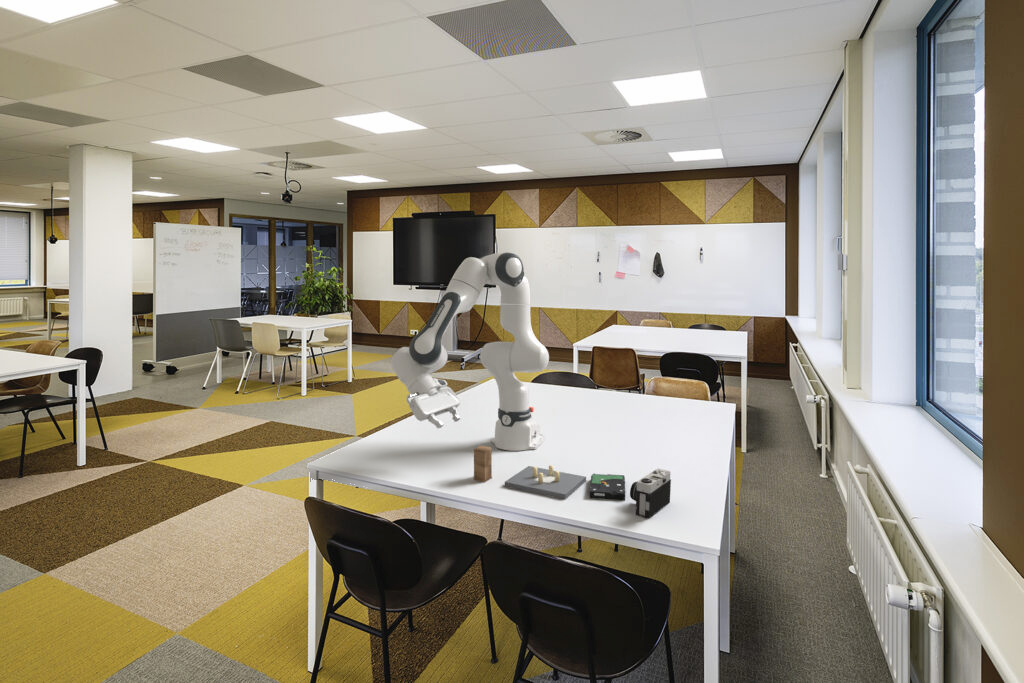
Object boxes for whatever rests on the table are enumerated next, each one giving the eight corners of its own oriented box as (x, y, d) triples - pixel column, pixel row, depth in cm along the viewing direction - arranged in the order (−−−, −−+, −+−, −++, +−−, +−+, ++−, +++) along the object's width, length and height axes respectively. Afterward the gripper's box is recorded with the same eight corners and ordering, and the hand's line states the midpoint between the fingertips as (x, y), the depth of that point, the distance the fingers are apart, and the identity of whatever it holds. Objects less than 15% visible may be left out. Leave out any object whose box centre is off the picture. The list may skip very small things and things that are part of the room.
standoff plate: (528, 470, 183) (528, 457, 182) (586, 481, 173) (586, 467, 173) (504, 486, 169) (504, 472, 168) (565, 499, 159) (565, 484, 159)
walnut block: (480, 476, 178) (480, 445, 176) (491, 478, 176) (491, 447, 175) (474, 480, 174) (473, 449, 173) (484, 482, 172) (484, 451, 171)
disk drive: (625, 502, 159) (624, 483, 173) (626, 493, 158) (624, 474, 173) (589, 500, 161) (590, 480, 175) (589, 491, 160) (590, 472, 175)
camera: (647, 494, 163) (649, 462, 161) (675, 505, 156) (678, 471, 155) (619, 508, 153) (621, 474, 152) (647, 520, 147) (650, 484, 145)
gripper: (409, 389, 172) (435, 425, 169) (448, 379, 190) (472, 411, 186) (398, 402, 175) (424, 437, 171) (437, 391, 193) (461, 422, 189)
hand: (449, 423), depth 179 cm, fingers open, 8 cm apart
